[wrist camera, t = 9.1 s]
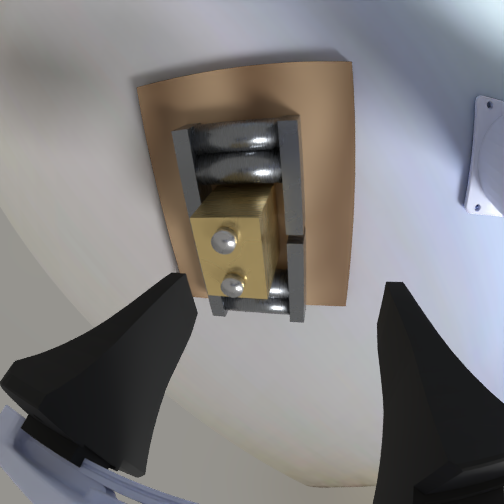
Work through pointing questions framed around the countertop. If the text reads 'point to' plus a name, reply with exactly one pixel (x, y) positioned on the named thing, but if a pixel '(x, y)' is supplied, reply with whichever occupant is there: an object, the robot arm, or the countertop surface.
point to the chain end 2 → (275, 288)
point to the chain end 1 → (243, 160)
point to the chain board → (315, 183)
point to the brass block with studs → (238, 239)
